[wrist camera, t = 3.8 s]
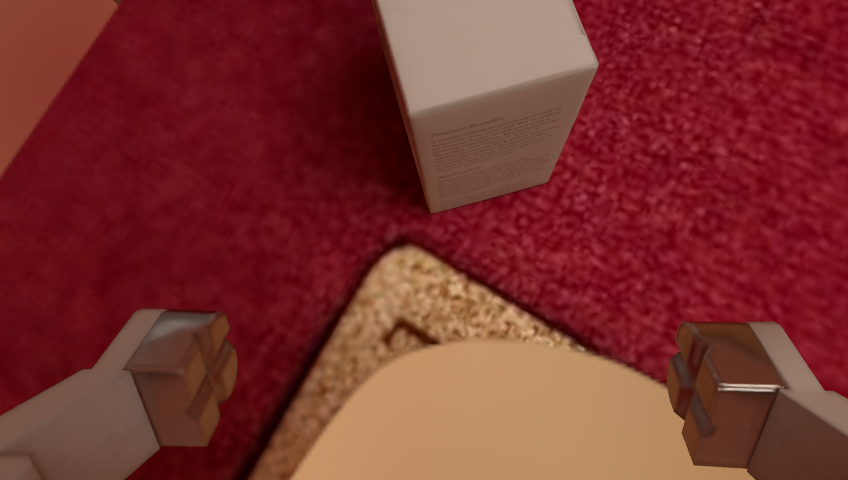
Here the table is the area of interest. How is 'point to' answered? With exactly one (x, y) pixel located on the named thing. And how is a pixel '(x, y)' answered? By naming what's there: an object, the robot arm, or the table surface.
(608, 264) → the table surface
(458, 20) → the small box
